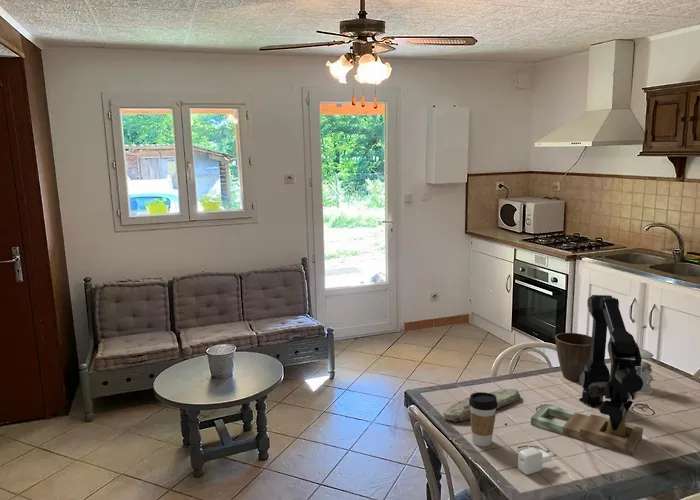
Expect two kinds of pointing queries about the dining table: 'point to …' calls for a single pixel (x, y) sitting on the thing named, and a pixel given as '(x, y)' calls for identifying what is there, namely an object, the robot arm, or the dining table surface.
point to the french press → (645, 370)
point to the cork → (620, 430)
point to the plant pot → (573, 353)
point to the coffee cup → (482, 417)
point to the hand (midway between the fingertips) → (616, 426)
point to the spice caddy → (587, 429)
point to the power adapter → (533, 460)
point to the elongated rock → (462, 408)
